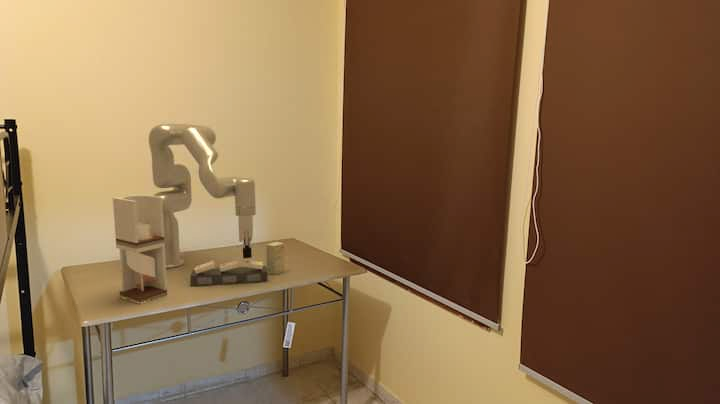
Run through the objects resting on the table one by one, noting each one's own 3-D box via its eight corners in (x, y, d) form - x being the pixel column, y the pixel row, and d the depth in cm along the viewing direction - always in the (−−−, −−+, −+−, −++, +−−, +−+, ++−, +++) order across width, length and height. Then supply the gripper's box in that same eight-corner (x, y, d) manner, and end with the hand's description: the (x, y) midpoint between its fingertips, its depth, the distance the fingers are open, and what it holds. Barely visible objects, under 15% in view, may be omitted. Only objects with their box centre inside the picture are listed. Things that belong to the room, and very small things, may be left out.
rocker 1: (196, 273, 178) (194, 269, 178) (197, 270, 183) (195, 266, 182) (214, 267, 180) (212, 263, 179) (215, 264, 184) (213, 260, 184)
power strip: (190, 286, 177) (190, 275, 176) (192, 279, 185) (192, 269, 184) (267, 281, 183) (267, 271, 183) (266, 275, 191) (266, 264, 191)
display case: (119, 297, 165) (112, 198, 159) (147, 288, 174) (141, 194, 168) (139, 304, 159) (133, 201, 154) (167, 294, 168) (162, 197, 162)
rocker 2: (244, 266, 182) (244, 262, 182) (243, 263, 187) (244, 259, 186) (262, 269, 184) (263, 265, 184) (261, 266, 188) (262, 261, 188)
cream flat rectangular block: (220, 271, 181) (219, 267, 180) (221, 268, 185) (219, 264, 184) (239, 267, 182) (238, 262, 182) (239, 263, 186) (238, 259, 186)
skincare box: (274, 275, 191) (274, 246, 189) (266, 273, 194) (265, 244, 192) (284, 271, 197) (284, 242, 195) (276, 269, 199) (276, 241, 197)
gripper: (235, 208, 187) (237, 253, 190) (235, 214, 173) (237, 263, 176) (255, 207, 189) (256, 252, 192) (256, 214, 175) (257, 262, 178)
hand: (247, 257), depth 184 cm, fingers closed
